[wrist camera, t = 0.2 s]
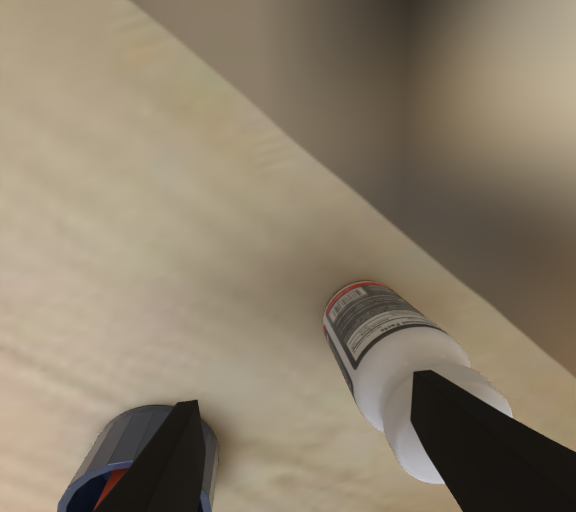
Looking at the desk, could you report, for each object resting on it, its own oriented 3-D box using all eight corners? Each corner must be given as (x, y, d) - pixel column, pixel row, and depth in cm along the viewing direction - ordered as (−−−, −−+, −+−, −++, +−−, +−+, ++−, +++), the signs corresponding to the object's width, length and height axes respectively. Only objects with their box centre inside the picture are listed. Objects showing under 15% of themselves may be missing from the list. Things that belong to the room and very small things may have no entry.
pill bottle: (392, 351, 21) (505, 491, 12) (318, 353, 21) (373, 503, 11) (404, 278, 20) (544, 370, 10) (324, 277, 19) (394, 375, 10)
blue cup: (225, 488, 23) (219, 554, 19) (110, 507, 22) (78, 580, 18) (210, 397, 21) (200, 450, 16) (81, 414, 20) (36, 474, 16)
